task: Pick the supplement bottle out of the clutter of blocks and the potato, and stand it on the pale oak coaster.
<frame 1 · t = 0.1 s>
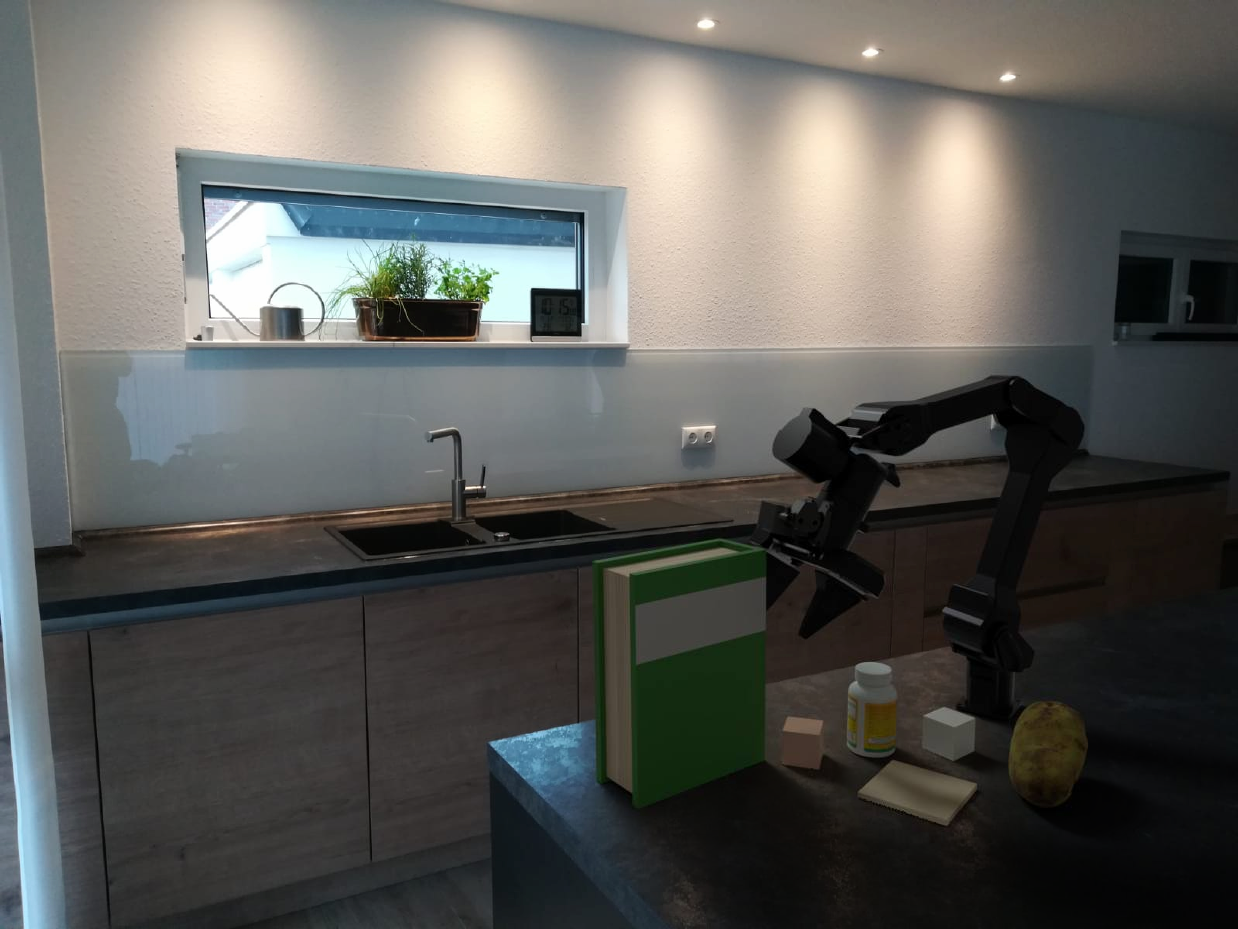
hand: (778, 625, 99), 15 cm above the countertop, tool tilted 35°, fingers open, 9 cm apart
potato: (1043, 789, 92), on the countertop
coaster: (917, 793, 91), on the countertop
hardback book: (682, 772, 97), on the countertop
supplement bottle: (871, 750, 102), on the countertop
terracotta block: (802, 759, 99), on the countertop
grey block: (947, 750, 101), on the countertop
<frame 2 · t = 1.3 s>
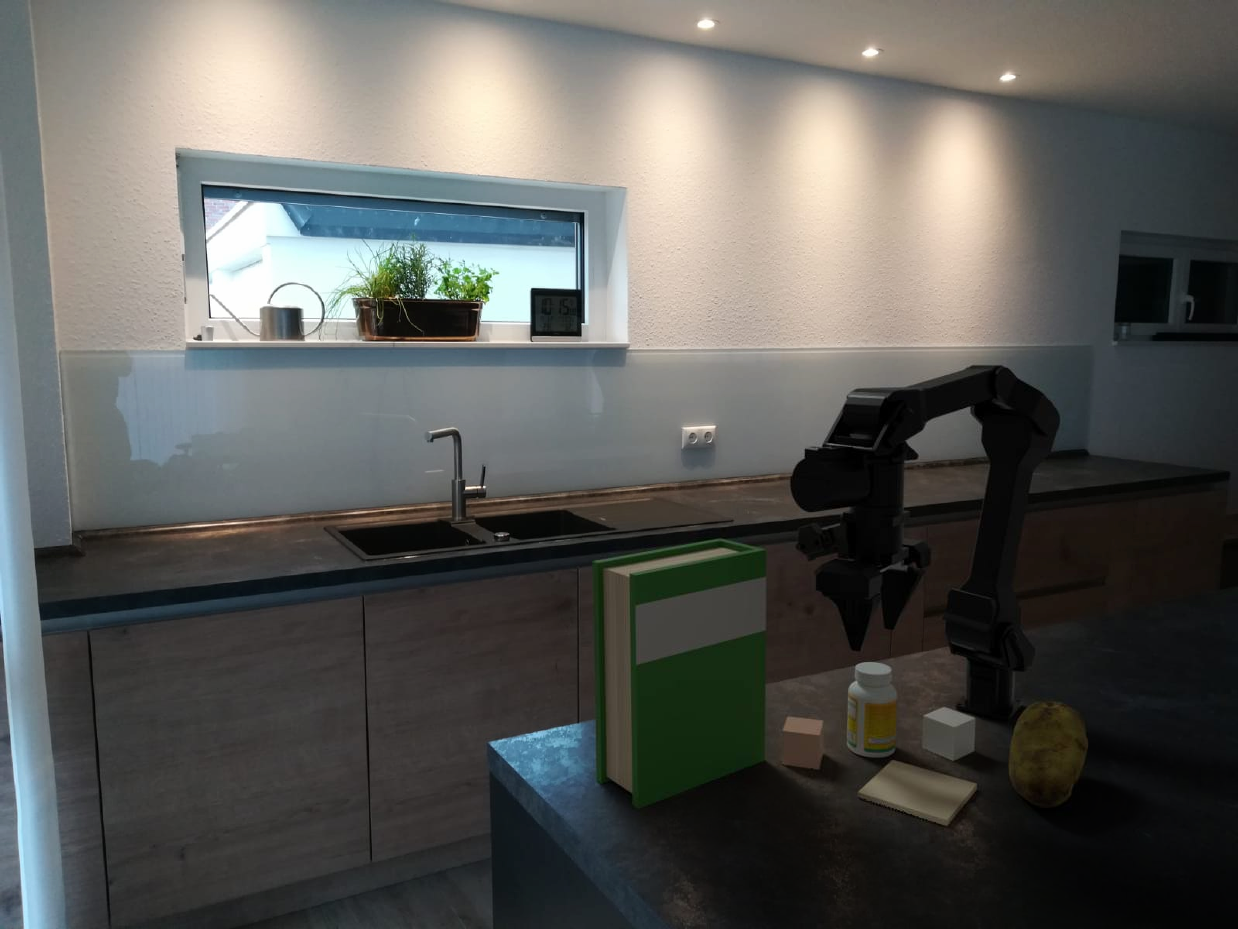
hand: (873, 639, 100), 13 cm above the countertop, tool pointing down, fingers open, 9 cm apart
nothing on the countertop moved.
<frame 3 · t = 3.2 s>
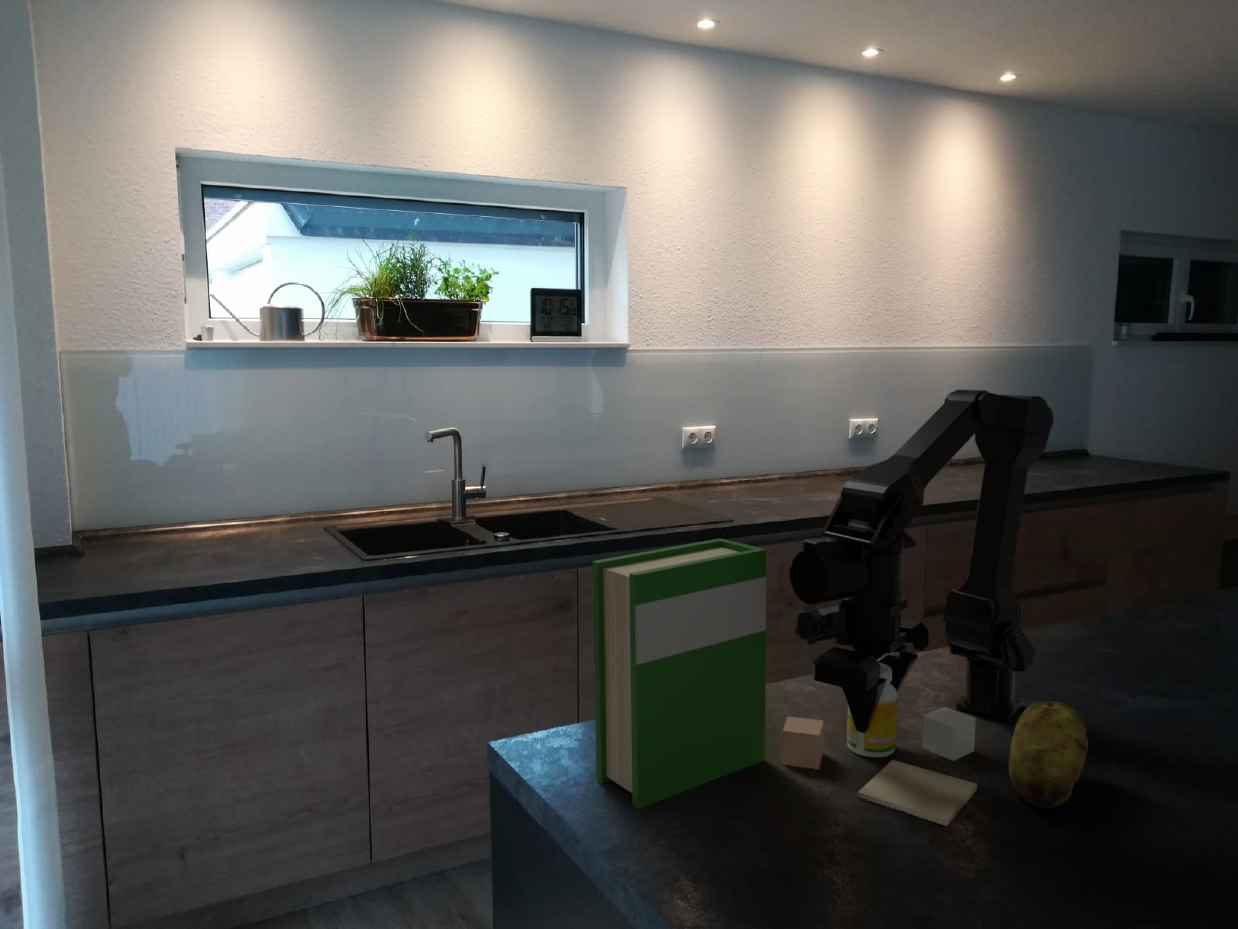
hand: (871, 723, 101), 3 cm above the countertop, tool pointing down, fingers closed on supplement bottle, 5 cm apart
supplement bottle: (871, 750, 102), on the countertop, touching gripper
everything else where it was.
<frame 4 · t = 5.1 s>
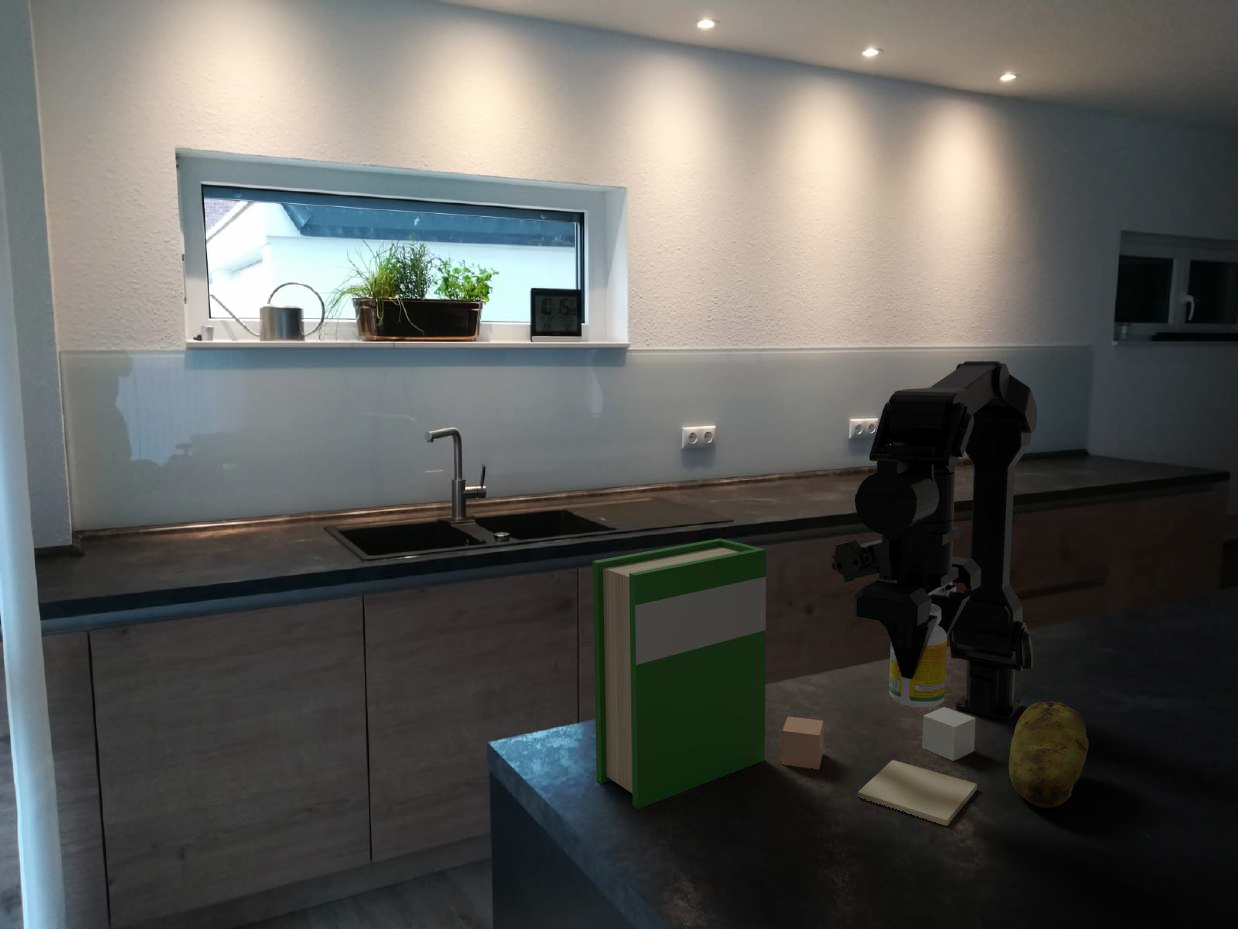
hand: (918, 669, 90), 13 cm above the countertop, tool pointing down, fingers closed on supplement bottle, 5 cm apart
supplement bottle: (916, 700, 90), point 10 cm above the countertop, touching gripper
everything else where it was.
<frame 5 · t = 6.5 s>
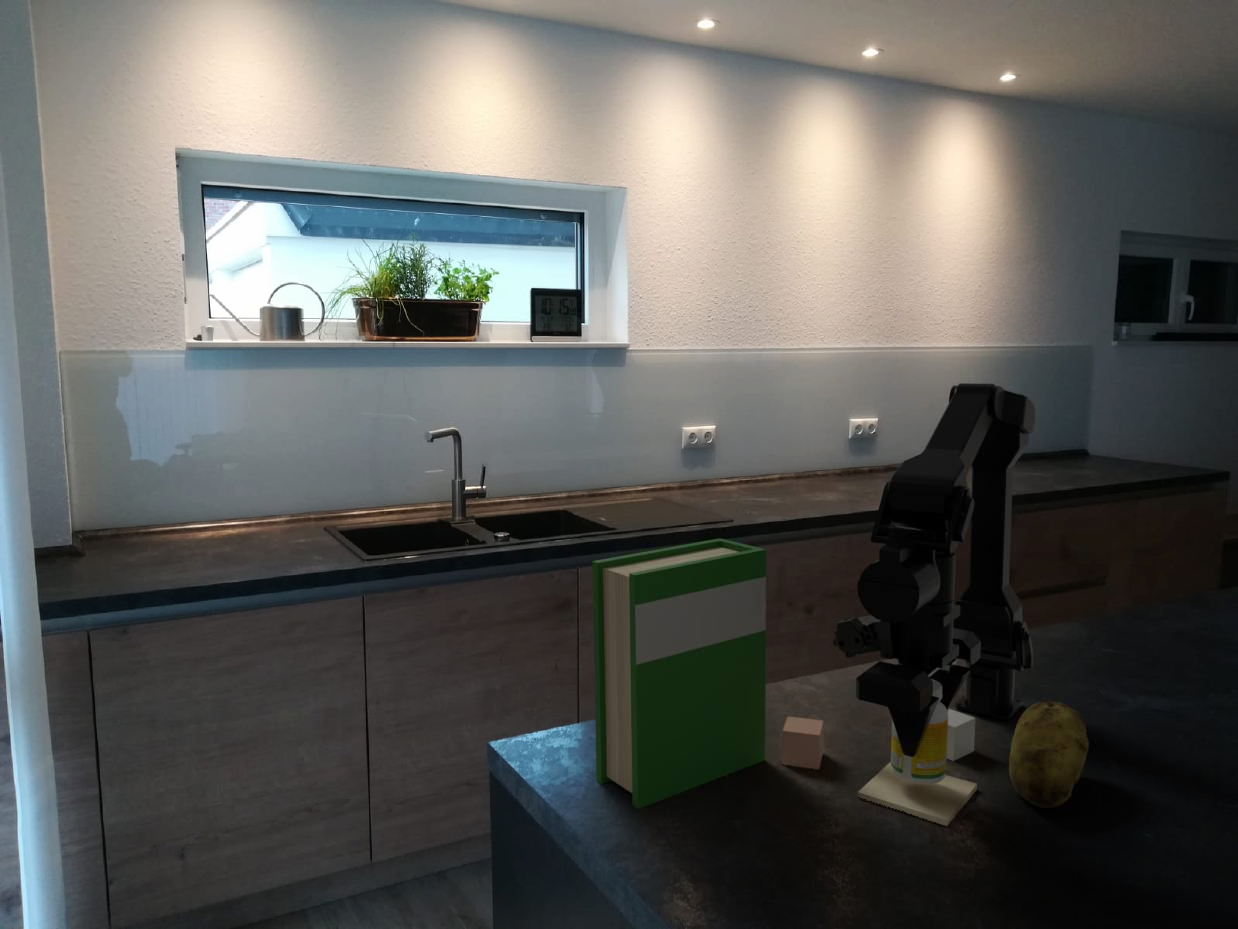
hand: (919, 745, 91), 5 cm above the countertop, tool pointing down, fingers closed on supplement bottle, 5 cm apart
supplement bottle: (918, 775, 91), point 2 cm above the countertop, touching gripper
everything else where it was.
when the fingers open (5 cm above the countertop, at t = 7.4 s): supplement bottle drops 1 cm, resting on coaster.
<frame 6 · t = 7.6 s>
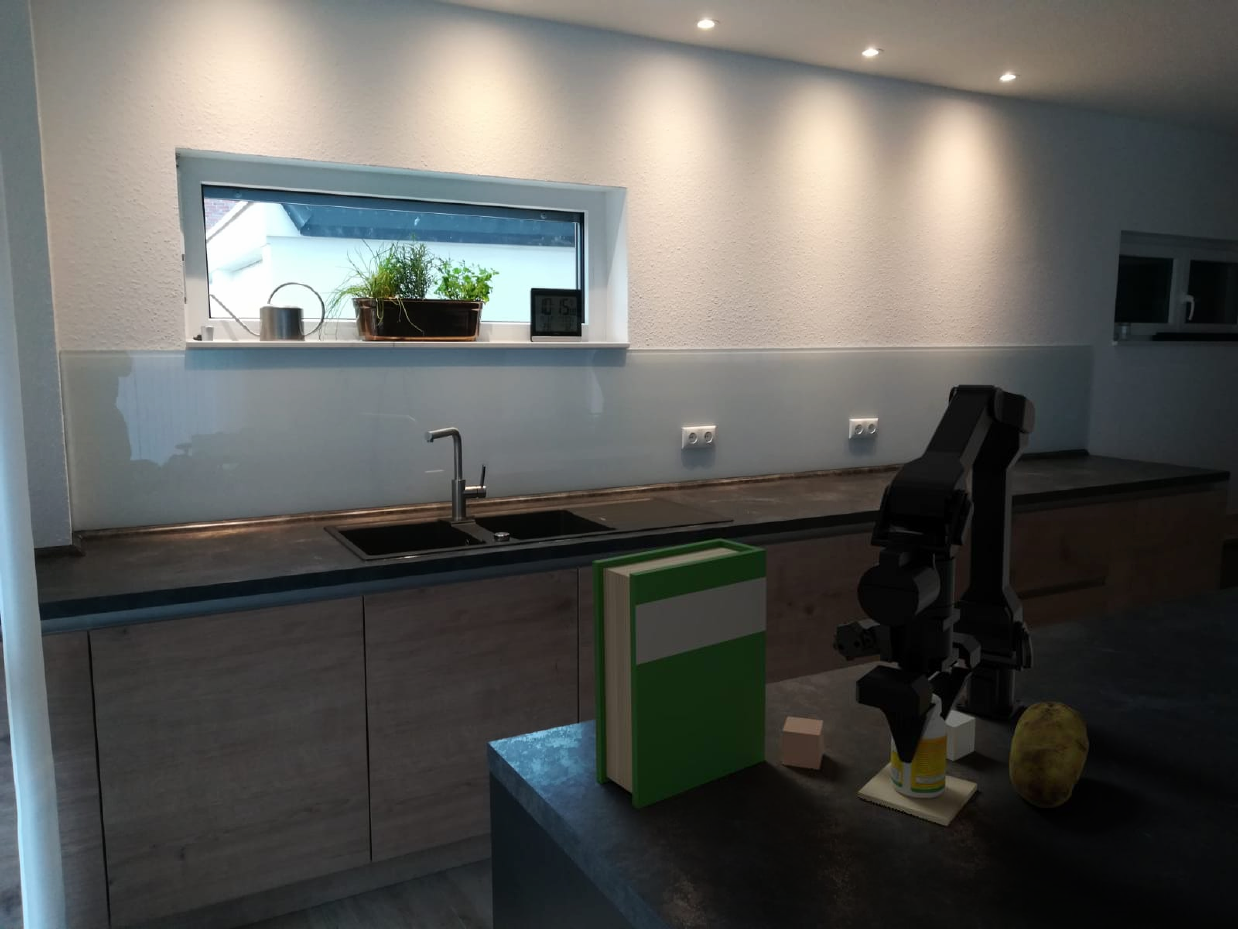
hand: (919, 749, 91), 5 cm above the countertop, tool pointing down, fingers open, 7 cm apart
supplement bottle: (917, 789, 91), resting on coaster
everything else where it was.
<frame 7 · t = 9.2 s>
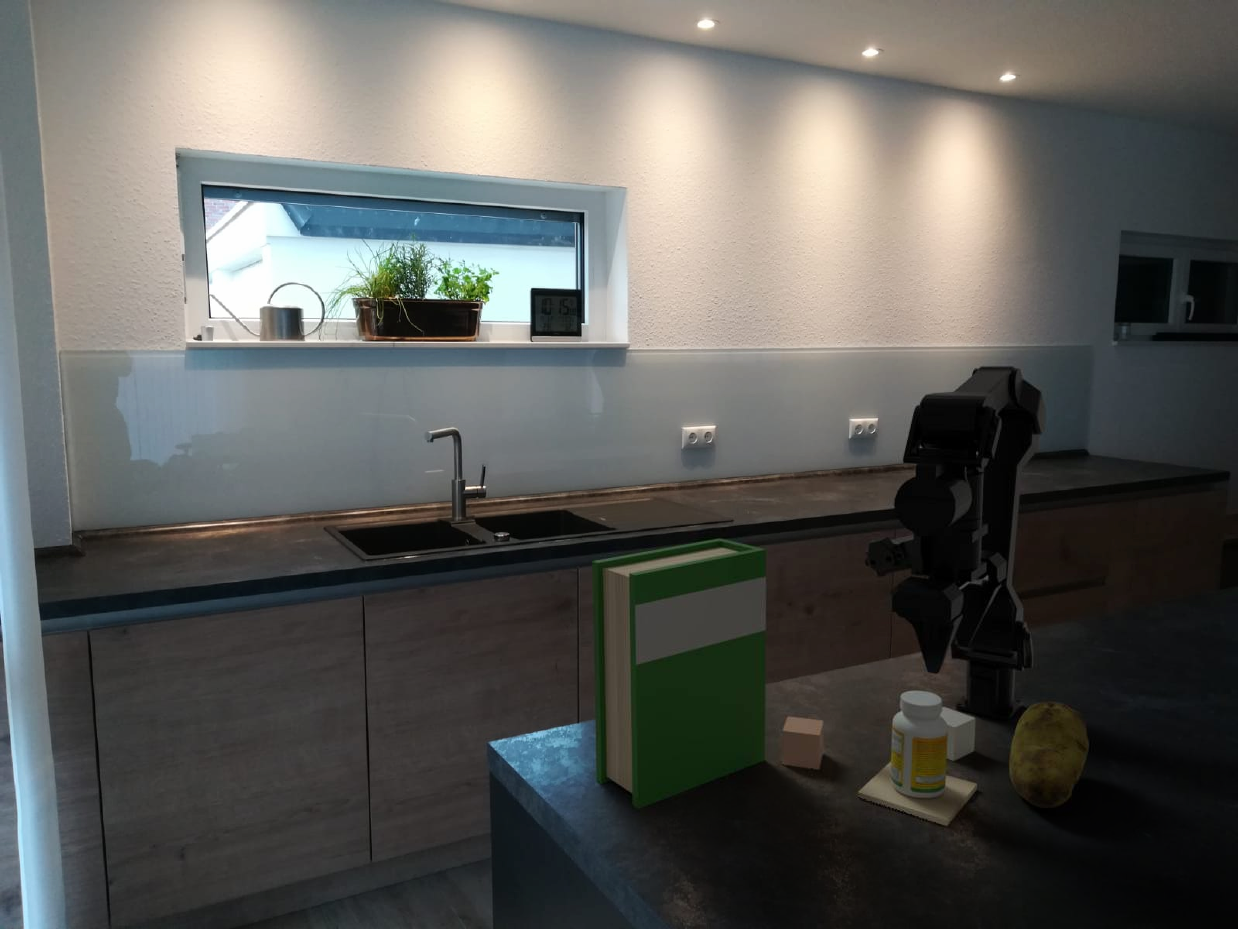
hand: (948, 659, 95), 12 cm above the countertop, tool pointing down, fingers open, 9 cm apart
nothing on the countertop moved.
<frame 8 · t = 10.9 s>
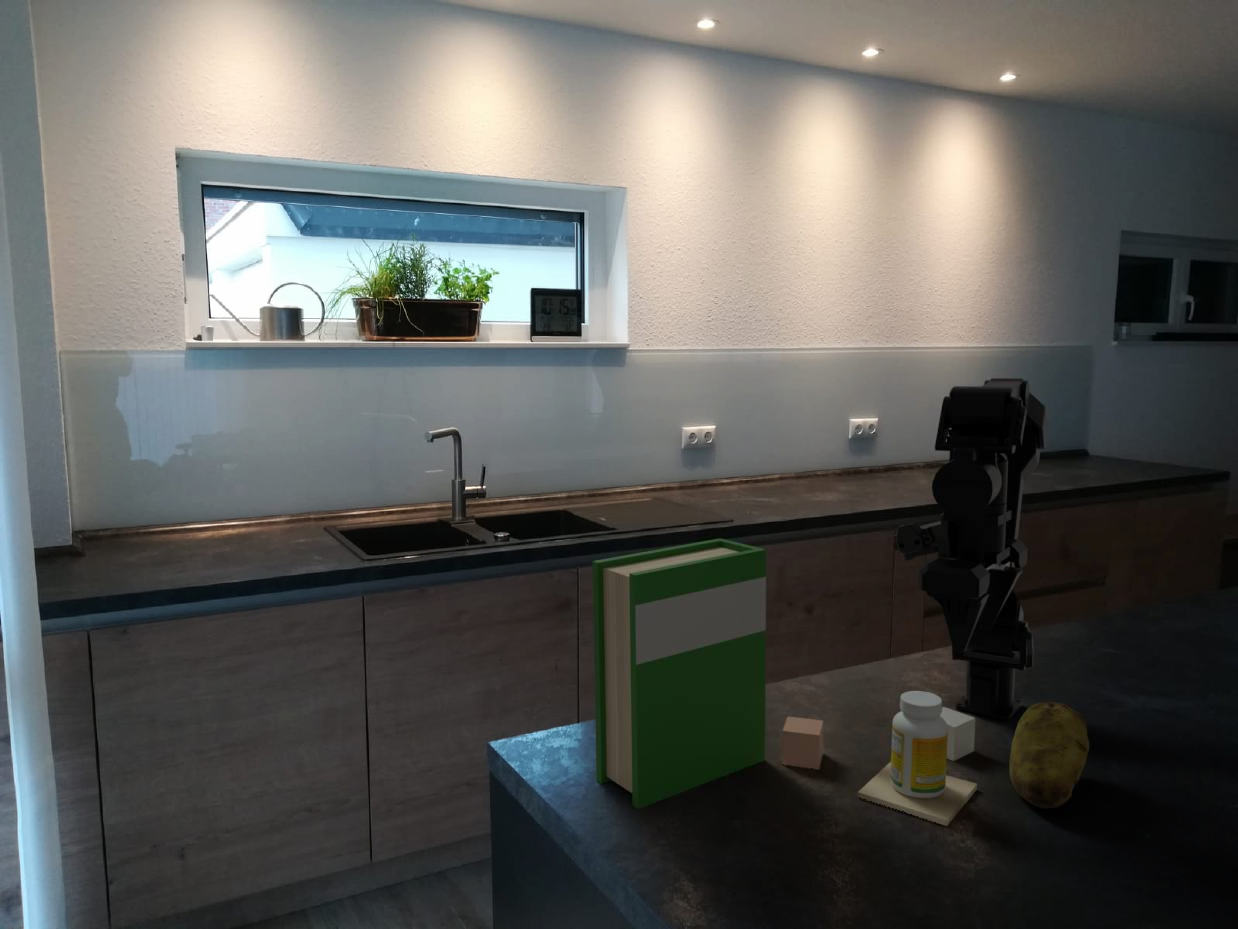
hand: (972, 640, 99), 13 cm above the countertop, tool pointing down, fingers open, 9 cm apart
nothing on the countertop moved.
at the end: supplement bottle inside the target area on the coaster (0.1 cm from its centre), point 0.4 cm above the coaster's base; supplement bottle tilted 0°; the gripper is holding nothing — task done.
